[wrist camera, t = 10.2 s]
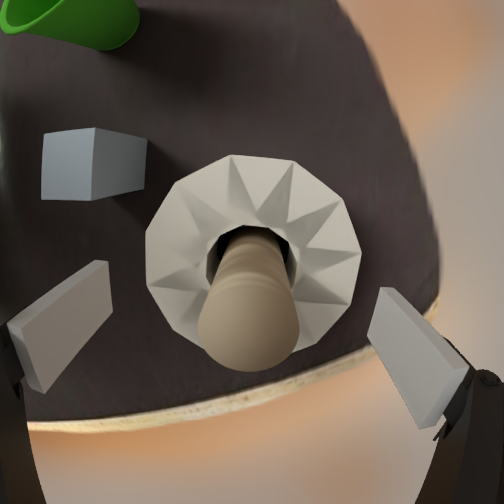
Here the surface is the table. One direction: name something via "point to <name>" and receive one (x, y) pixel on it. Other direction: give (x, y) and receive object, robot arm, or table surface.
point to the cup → (73, 20)
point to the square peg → (91, 164)
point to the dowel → (250, 305)
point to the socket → (253, 214)
